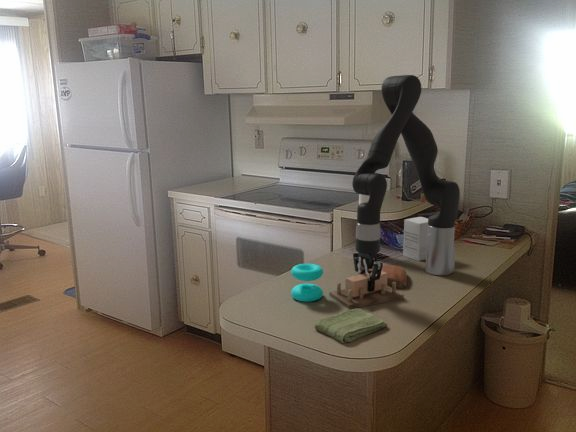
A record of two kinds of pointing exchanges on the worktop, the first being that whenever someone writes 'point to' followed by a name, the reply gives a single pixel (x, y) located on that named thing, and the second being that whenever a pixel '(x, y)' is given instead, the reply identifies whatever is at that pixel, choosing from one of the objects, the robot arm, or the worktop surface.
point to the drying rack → (366, 296)
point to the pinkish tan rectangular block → (363, 283)
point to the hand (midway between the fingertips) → (366, 288)
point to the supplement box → (415, 238)
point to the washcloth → (350, 325)
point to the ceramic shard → (395, 275)
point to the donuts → (307, 290)
